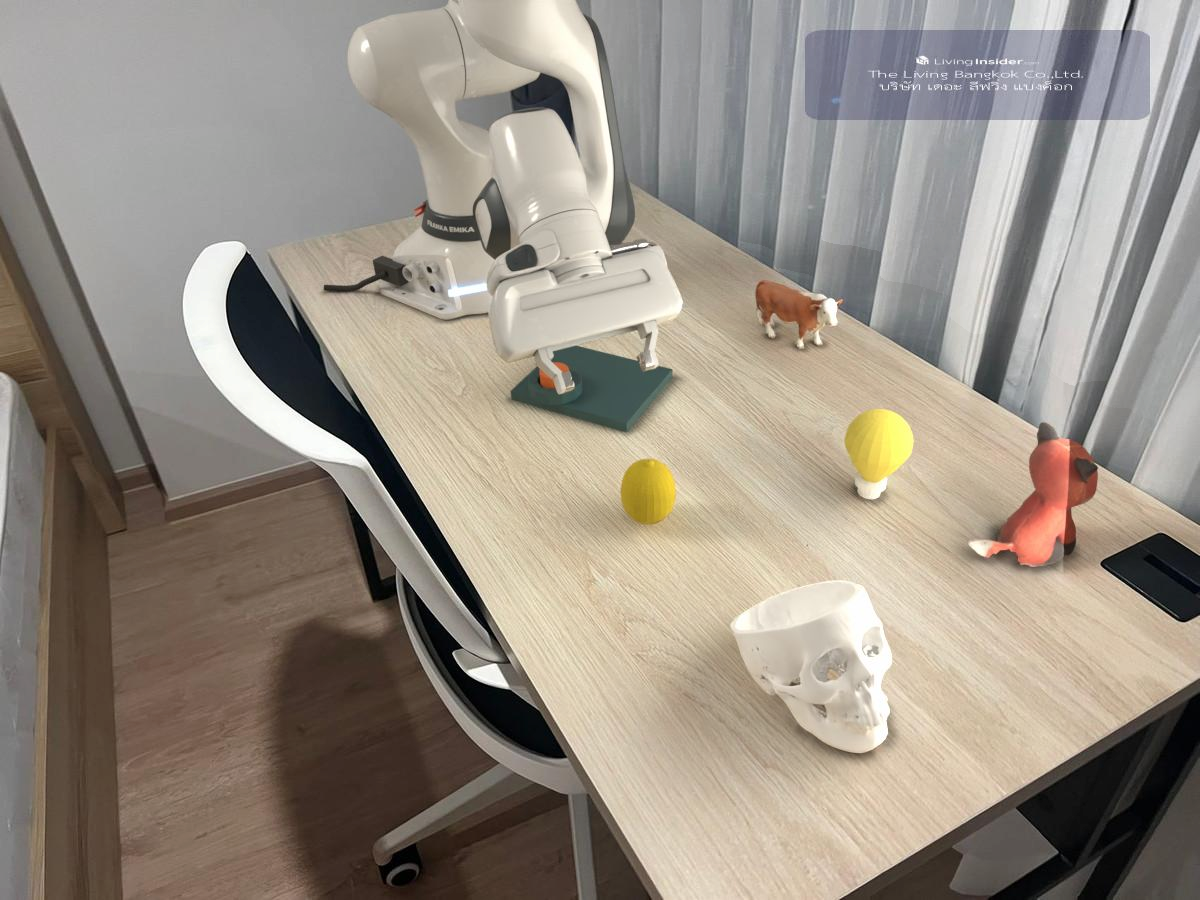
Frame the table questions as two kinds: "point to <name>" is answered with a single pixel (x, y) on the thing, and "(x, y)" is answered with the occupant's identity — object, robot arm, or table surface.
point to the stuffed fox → (1047, 503)
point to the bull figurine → (795, 309)
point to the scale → (597, 388)
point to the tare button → (549, 382)
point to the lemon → (648, 491)
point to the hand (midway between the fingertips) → (609, 380)
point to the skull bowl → (821, 660)
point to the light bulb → (877, 448)
